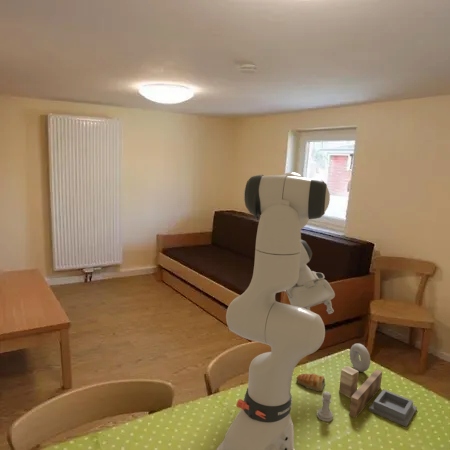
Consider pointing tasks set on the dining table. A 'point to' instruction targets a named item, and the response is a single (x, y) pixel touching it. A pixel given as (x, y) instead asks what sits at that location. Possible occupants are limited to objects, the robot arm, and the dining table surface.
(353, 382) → the block
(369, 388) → the door edge
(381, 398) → the seat block
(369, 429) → the dining table surface
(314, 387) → the pastry
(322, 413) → the chess piece
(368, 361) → the donut
